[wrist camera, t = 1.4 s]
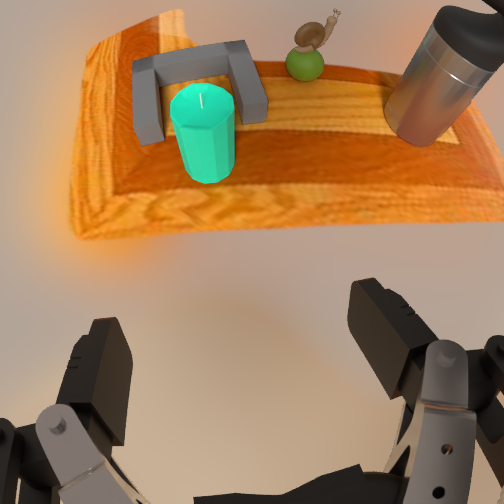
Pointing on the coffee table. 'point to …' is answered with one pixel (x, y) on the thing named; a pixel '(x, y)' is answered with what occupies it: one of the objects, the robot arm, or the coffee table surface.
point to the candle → (205, 131)
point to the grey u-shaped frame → (191, 68)
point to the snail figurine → (309, 50)
